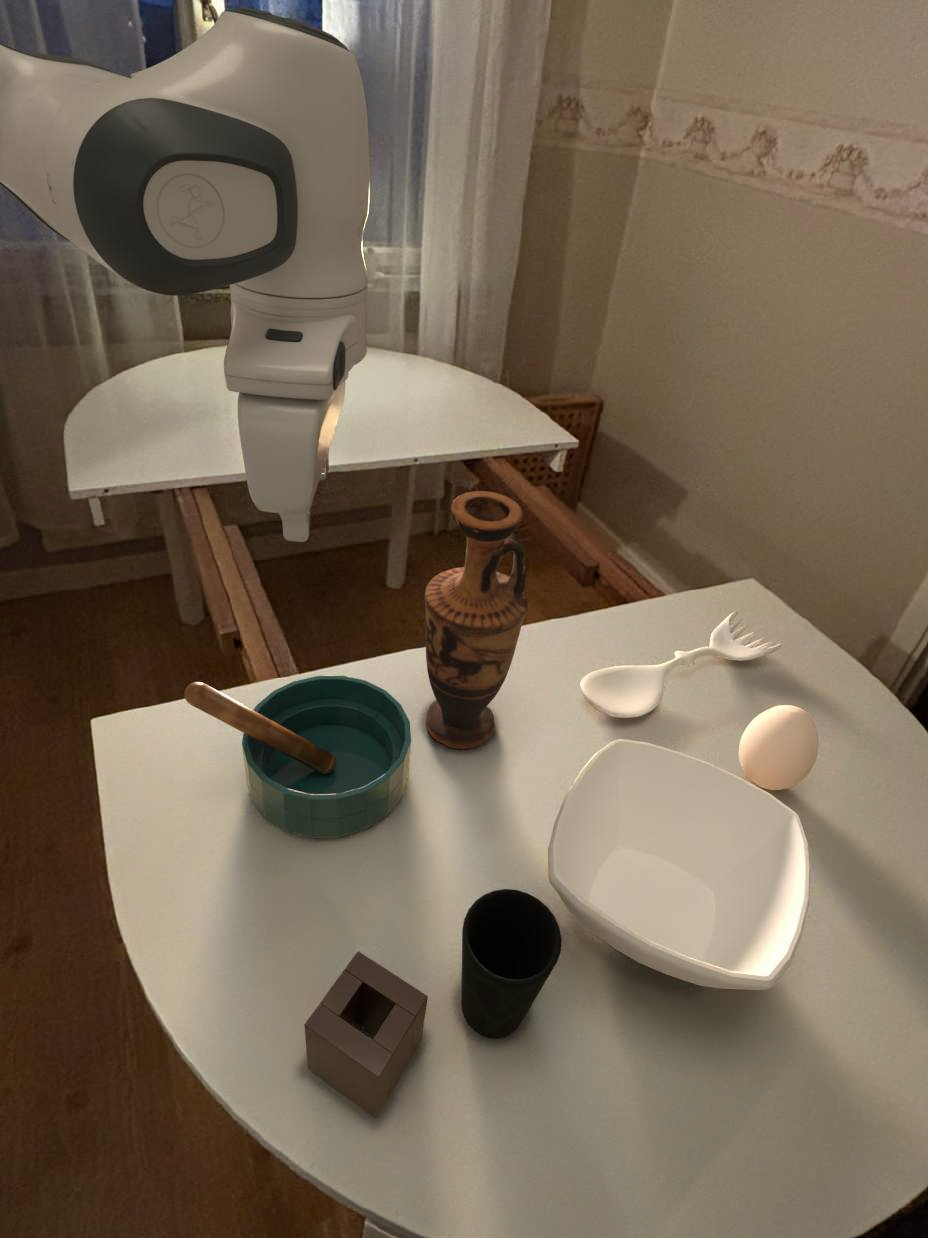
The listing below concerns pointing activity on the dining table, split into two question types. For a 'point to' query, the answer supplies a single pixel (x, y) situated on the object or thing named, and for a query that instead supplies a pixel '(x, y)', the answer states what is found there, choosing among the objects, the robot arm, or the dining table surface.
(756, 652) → the spoon
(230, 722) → the stick
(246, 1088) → the dining table surface
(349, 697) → the mixing bowl
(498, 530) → the vase
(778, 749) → the egg
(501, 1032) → the cup
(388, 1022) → the holder
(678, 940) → the bowl
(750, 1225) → the dining table surface
